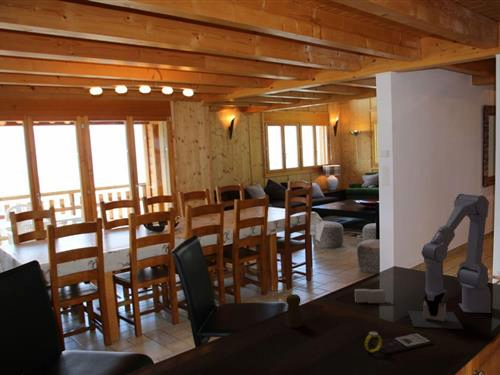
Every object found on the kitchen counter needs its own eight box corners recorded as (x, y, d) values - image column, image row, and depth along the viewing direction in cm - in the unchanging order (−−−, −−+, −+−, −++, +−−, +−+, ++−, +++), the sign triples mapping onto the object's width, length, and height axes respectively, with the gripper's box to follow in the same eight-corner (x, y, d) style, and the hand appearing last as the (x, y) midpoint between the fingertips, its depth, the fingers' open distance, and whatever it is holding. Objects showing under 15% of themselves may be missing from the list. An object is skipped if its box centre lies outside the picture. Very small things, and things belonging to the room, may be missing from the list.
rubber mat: (453, 313, 162) (453, 312, 162) (463, 329, 149) (463, 327, 149) (408, 312, 166) (408, 310, 166) (414, 327, 152) (414, 326, 152)
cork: (304, 322, 162) (303, 293, 160) (299, 328, 156) (298, 299, 155) (289, 320, 164) (288, 291, 163) (283, 326, 159) (282, 297, 158)
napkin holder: (391, 301, 178) (391, 288, 178) (379, 310, 170) (379, 296, 170) (358, 294, 188) (358, 282, 188) (345, 302, 180) (345, 289, 180)
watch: (377, 348, 139) (378, 330, 139) (383, 351, 137) (384, 333, 136) (362, 351, 137) (363, 332, 136) (368, 354, 134) (369, 336, 134)
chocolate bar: (368, 341, 142) (414, 331, 148) (368, 344, 142) (414, 334, 148) (385, 353, 134) (433, 342, 139) (385, 356, 134) (433, 345, 139)
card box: (425, 313, 160) (425, 300, 159) (446, 317, 156) (446, 303, 155) (423, 317, 156) (423, 304, 156) (444, 321, 153) (444, 307, 152)
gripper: (443, 284, 146) (443, 322, 148) (449, 272, 159) (450, 308, 160) (421, 281, 150) (421, 319, 152) (429, 270, 162) (429, 305, 164)
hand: (434, 313), depth 156 cm, fingers closed on card box, 4 cm apart
